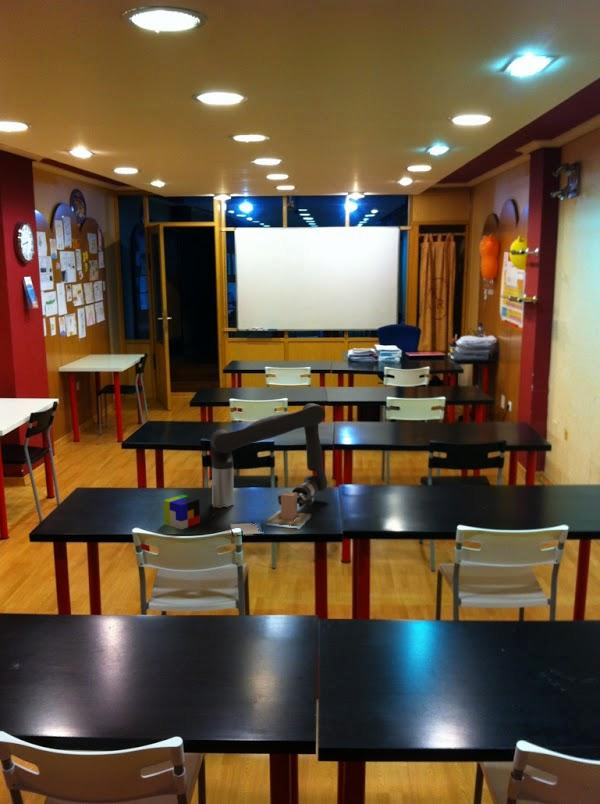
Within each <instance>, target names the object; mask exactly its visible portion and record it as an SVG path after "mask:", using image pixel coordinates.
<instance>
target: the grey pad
mask: <svg viewBox="0 0 600 804" xmlns="http://www.w3.org/2000/svg"><path fill="white" fill-rule="evenodd" d="M254 523H255V524H256V523H257V522H254ZM251 524H252V523H250V524H249V523H234V524H233V523H231V524H229V525H230V526H229V527H230V529H233V528H238V527H240V528H241V529H242V531H243V537H244V535H245V536H254V535H253V534H260V533H264V531H263V532H260V531H258V529H259V528H257V526H258V525H255V524H252V525H251ZM254 525H255V526H254Z"/></svg>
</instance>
